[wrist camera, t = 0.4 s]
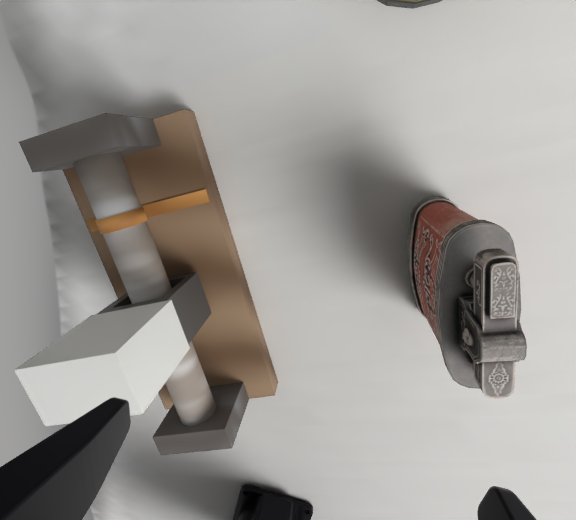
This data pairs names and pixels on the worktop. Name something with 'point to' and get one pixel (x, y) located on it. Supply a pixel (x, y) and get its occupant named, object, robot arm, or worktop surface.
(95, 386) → the white slider block
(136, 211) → the pipe stand
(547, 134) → the worktop surface
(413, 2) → the thermos
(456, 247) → the lighter
